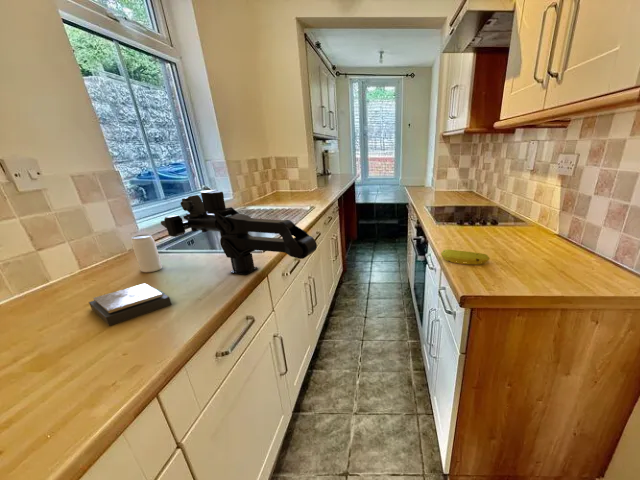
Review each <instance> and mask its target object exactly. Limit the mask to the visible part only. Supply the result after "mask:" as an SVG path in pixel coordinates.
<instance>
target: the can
mask: <svg viewBox="0 0 640 480" xmlns="http://www.w3.org/2000/svg"><path fill="white" fill-rule="evenodd" d="M130 239H131V240H130V243H131V246H132V249H133V252H134V255H135V258H136V261H137V264H138V266H139V269H140V272H142V273H146V274H147V273H155V272H158V271H160V270H162V269H163V263H162V260H161V257H160V254H159V250H158V247H157V245H156V241H155V239H154V238H153V237H152V234H147V233H146V234H145V233H144V234H137V235H133V236H132V237H130Z"/></svg>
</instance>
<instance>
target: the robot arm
mask: <svg viewBox="0 0 640 480" xmlns="http://www.w3.org/2000/svg"><path fill="white" fill-rule="evenodd" d="M179 203H180V207H181V208H182V209H183V211H185V212H187V213H186V214H185V215H183V218H182V217H181V216H180V215H177V214H175V215H173V214H172V215H169V216H165V217H164V219H163V220H161V221H160V224H161V226H162V227H164V228H165V229H166V230H167V234H168V236H169V237H173V238H177V237H180V236H183V235H185V233H186V230H188V229H191V232H198V231H201V233H208V232H217V233H218V232H219V233H220V239H219V244H220V247H221V249H222V251H223V252H224V255H225V257H226V258H229V259H230V263H231V268H232V270H231V271H230V274H234V275H244V276H246V275H249V274H251V273H253V272H254V271H256V270H258V269H259V267H258V266H255V264H254V263H255V262H254V257H253V253H254V252H255V251H260V252H261V251H262V252H274V253H285V254H287V255H288V256H289V257H292V258H295V259H299V260H304V259H306V258H307V257H309V256H310V255H312V254H313V253H315V252H316V250H317V248H318V244H317V241H316V239H315V238H314V237H313V236H311V235H309V233H307V231H305V230H304V229H302V228H301V227H299V226H297V225H296V224H295V223H294V222H293V221H292V220H290V219H271V218H269V219H268V218H253V217H250V216H249V215H248V214H243V213H240V212H238V211H237V210H236V209H234V208H233V207H232V206H229V207H226V203H225V194H224V192H223V191H221V190H219V189H207V190H201V191H200V195H198V194H195V195H189V196H187V197H185V198H182V199H181V201H180V202H179ZM183 220H185V221H183ZM249 233H263V234H275V235H276V234H278V235H279V236H280V237H268V236H267V237H266V236H254V235H251V234H249Z"/></svg>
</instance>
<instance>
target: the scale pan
mask: <svg viewBox="0 0 640 480" xmlns="http://www.w3.org/2000/svg"><path fill="white" fill-rule="evenodd" d="M150 286H151V285H150ZM150 286H149V284H147V283H141V284H138V285H137V284H136V285H134V286H130V287H127V288H123V289H120V290H117V291H113V292H109V293H106V294H102V295H98V296H94V297H92V300H93V301H95V302H96V303H98V304H99V305H100V306H101V307H102V308H103V309H105V310H106V311H107V312H108V313H112V312H115V311H118V310H121V309H125V308H128V307H131V306H134V305H137V304H140V303H143V302H146V301H150V300H153V299H156V298H159V297H162V296H163V294H162V293H161V292H159V291H157V290H155V289H156V288H155V287H153V286H151V287H150ZM152 287H153V288H152ZM154 288H155V289H154Z"/></svg>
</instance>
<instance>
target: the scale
mask: <svg viewBox="0 0 640 480" xmlns="http://www.w3.org/2000/svg"><path fill="white" fill-rule="evenodd" d="M148 285H149V284H148ZM149 286H150V287H152V288H154V289H155V290H157V291H159V292H161V293H162V294H163V296H162V297H159V298H156V299H153V300H150V301H146V302H143V303H140V304H137V305H134V306H131V307H128V308H125V309H121V310H118V311H115V312H112V313H108V312H107V311H106V310H105V309H103V308H102V307H101V306H100V305H99V304H98V303H96V302H95V301H94V300H91V301H88V304H89V306H90V308H91V311H92V312H94V313H95V314H96V315H97V316H98V317H99V318H100V319H101V320H102V321H103V322H104V323H106V324H107V326H108V327H111V326H114V325H116V324H120V323H123V322H125V321H128V320H131V319H134V318H137V317H140V316H143V315H146V314H148V313H152V312H155V311H157V310H160V309H163V308H166V307H169V306H172V301H171V298H170V296H169V295H167V294H166V293H165V292H163V291H162V290H160V289H158V288H155V287H153V286H152V285H149Z"/></svg>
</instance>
